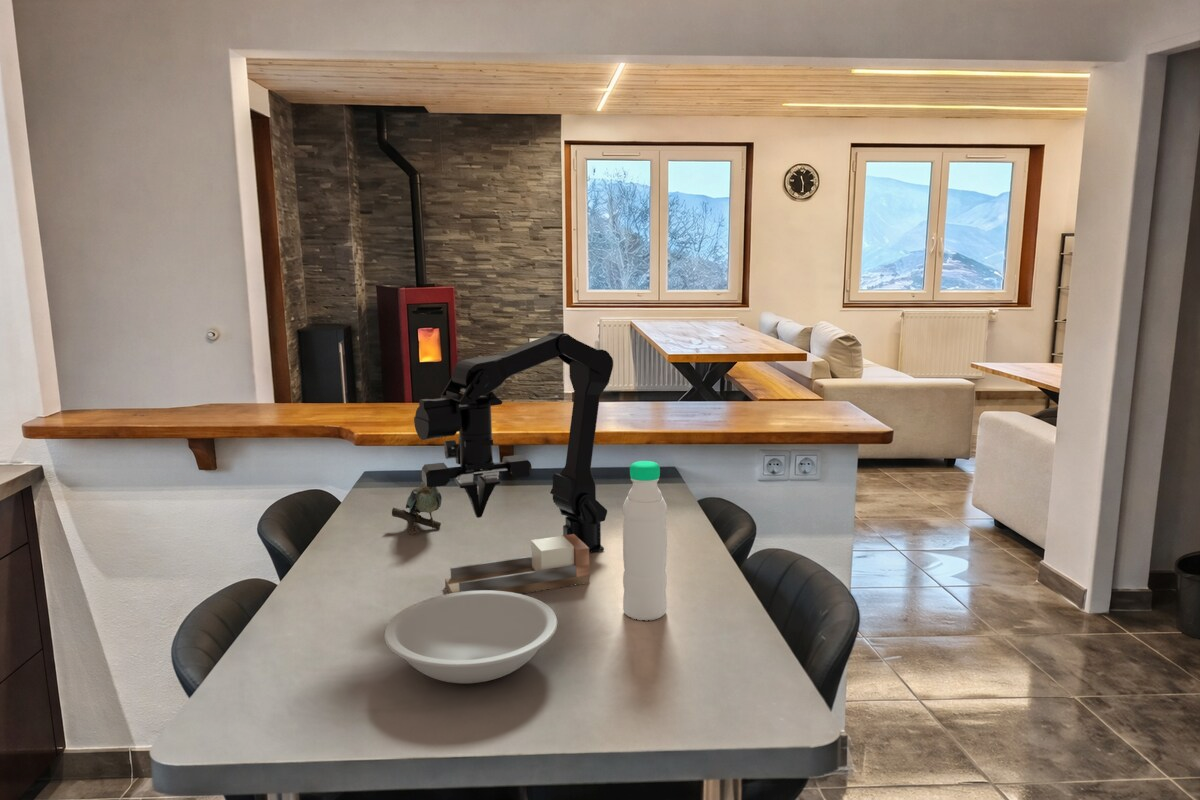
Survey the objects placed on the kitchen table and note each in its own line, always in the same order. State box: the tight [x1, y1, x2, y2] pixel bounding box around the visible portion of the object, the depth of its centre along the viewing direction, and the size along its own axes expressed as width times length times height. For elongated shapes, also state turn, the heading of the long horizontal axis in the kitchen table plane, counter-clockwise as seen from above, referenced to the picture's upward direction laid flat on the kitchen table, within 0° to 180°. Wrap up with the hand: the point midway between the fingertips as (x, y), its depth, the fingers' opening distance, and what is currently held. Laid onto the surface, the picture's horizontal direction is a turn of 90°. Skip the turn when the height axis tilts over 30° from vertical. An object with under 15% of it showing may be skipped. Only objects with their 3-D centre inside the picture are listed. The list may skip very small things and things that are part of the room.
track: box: [444, 534, 591, 595], centre depth 150 cm, size 24×8×6 cm, turn 111°
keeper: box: [530, 535, 574, 571], centre depth 152 cm, size 6×6×5 cm
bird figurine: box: [391, 481, 443, 535], centre depth 179 cm, size 13×10×20 cm
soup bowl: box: [384, 590, 558, 684], centre depth 121 cm, size 24×24×7 cm
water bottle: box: [622, 460, 668, 622], centre depth 136 cm, size 7×7×25 cm
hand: (478, 516), depth 153 cm, fingers closed
